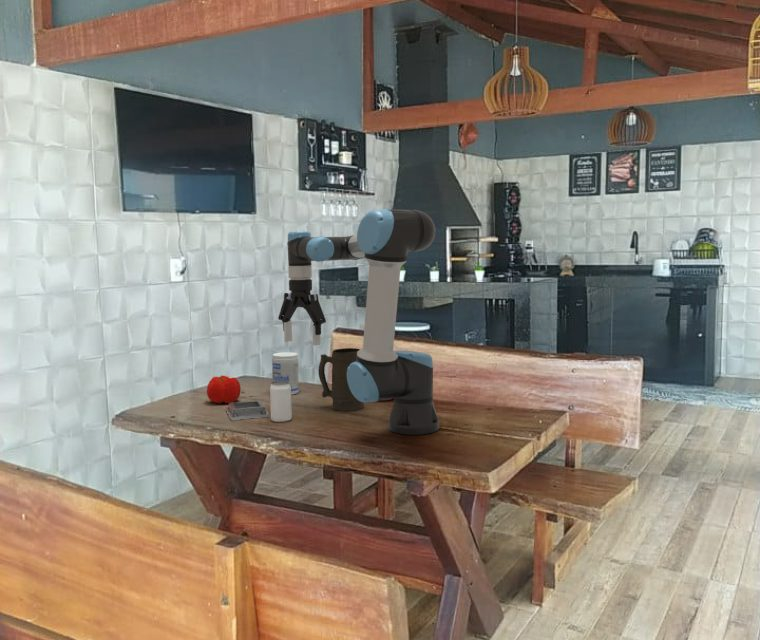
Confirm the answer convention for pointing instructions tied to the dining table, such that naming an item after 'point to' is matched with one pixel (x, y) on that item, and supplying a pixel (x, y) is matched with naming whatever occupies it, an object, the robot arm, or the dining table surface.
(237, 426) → the dining table surface
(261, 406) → the grey flat rectangular tray
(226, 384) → the tomato
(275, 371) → the supplement tub
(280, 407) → the can
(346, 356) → the beer stein
